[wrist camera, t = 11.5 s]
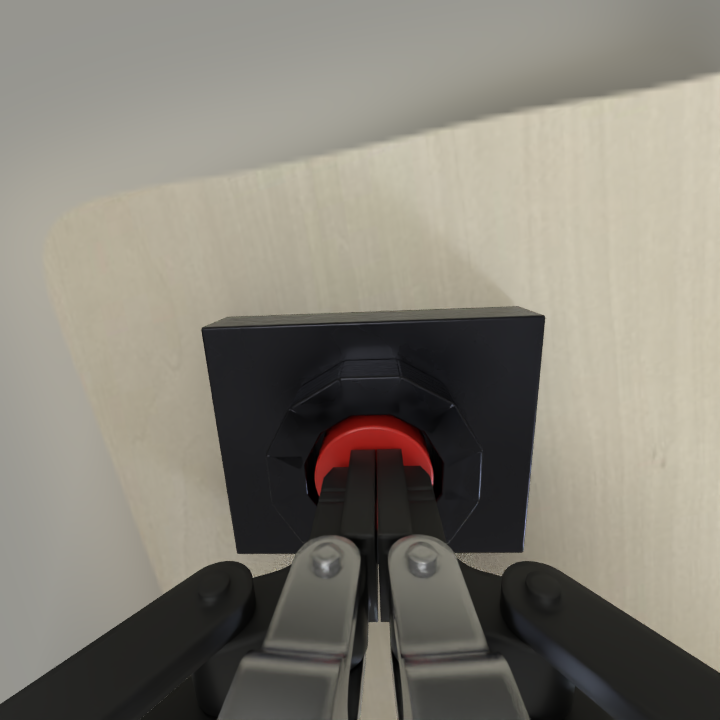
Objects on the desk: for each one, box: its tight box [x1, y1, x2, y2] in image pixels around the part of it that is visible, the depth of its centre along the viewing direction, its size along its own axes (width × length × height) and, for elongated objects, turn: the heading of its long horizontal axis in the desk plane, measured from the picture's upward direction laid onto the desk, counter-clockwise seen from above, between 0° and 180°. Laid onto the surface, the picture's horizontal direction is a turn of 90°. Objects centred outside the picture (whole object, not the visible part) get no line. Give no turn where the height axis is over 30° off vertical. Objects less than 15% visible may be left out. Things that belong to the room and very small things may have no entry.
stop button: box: [315, 415, 434, 530], centre depth 12 cm, size 4×4×2 cm
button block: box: [202, 306, 545, 564], centre depth 13 cm, size 11×9×4 cm
